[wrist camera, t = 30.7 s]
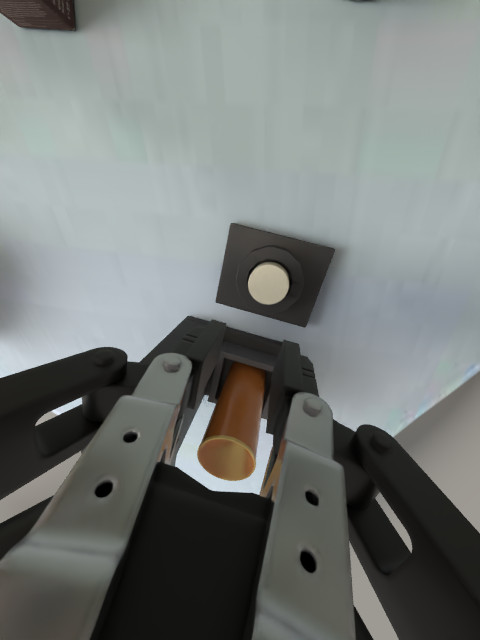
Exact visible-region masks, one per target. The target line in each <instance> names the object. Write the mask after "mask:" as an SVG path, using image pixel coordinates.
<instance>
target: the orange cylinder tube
mask: <svg viewBox="0 0 480 640" xmlns="http://www.w3.org/2000/svg"><path fill="white" fill-rule="evenodd" d="M265 382H266V372H265V370H264V369H260V368H257V367H254V366H250V365H247V364H243V363H240V362H237V361H235V362H234V363H233V364H232V365H231V367H230V369H229V372H228V374H227V377H226V379H225V382H224V385H223V387H222V390H221V392H220V395H219V398H218V400H217V403H216V405H215V408H214V411H213V413H212V416H211V419H210V421H209V424H208V426H207V429H206V432H205V434H204V437H203V439H202V442H201V444H200V446H199V448H198V452H197V456H198V460H199V462H200V464H201V465H202V467H203V468H204V469H205V470H206V471H207V472H209V473H210V474H212V475H213V476H215V477H218V478H220V479H224V480H229V481H237V480H243V479H245V478H247V477H249V476H250V475H251V474H252V473H253V472H254V470H255V466H256V453H257V445H258V437H259V429H260V421H261V414H262V406H263V398H264V390H265Z"/></svg>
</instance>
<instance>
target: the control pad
mask: <svg viewBox="0 0 480 640" xmlns="http://www.w3.org/2000/svg"><path fill="white" fill-rule="evenodd" d="M334 252H335V249H333V248H329V247H325V246H321V245H317V244H313V243H309V242H305V241H301V240H298V239H294V238H290V237H286V236H282V235H278V234H274V233H270V232H266V231H262V230H258V229H254V228H250V227H246V226H242V225H238V224H234V223H231V225H230V230H229V235H228V240H227V245H226V250H225V255H224V261H223V266H222V271H221V276H220V281H219V286H218V291H217V297H216V303H220V304H223V305H227V306H230V307H234V308H237V309H241V310H244V311H248V312H252V313H255V314H259V315H262V316H266V317H269V318H273V319H277V320H280V321H284V322H287V323H291V324H294V325H298V326H301V327H306V325H307V322H308V320H309V317H310V314H311V312H312V309H313V307H314V304H315V301H316V299H317V296H318V293H319V291H320V288H321V286H322V283H323V280H324V278H325V275H326V273H327V270H328V267H329V265H330V262H331V259H332V257H333V254H334ZM265 262H275V263H277V264H279V265H281V266H282V267H283V268H284V269H285V270H286V272H287V274H288V277H289V289H288V292H287V294H286V296H285V297H284V298H283V299H282V300H281V301H279V302H277V303H275V304H262V303H260V302H258V301H256V300H255V299H254V298H253V297H252V295H251V294H250V292H249V288H248V281H249V277H250V275H251V274H252V272H253V271H254V269H255V268H256V267H257V266H258V265H260V264H262V263H265Z"/></svg>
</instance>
